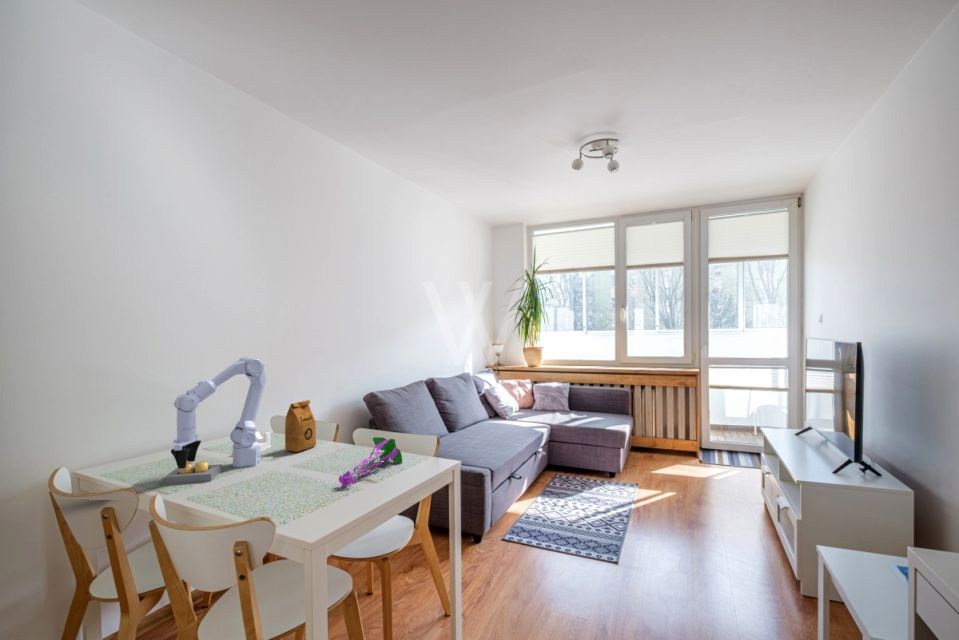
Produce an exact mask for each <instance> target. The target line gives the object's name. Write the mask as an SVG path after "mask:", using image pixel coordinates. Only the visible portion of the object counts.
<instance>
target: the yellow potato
mask: <svg viewBox="0 0 959 640" xmlns="http://www.w3.org/2000/svg"><path fill="white" fill-rule="evenodd" d="M208 465H209V462H208V461H199V462H196V463H195V464H194V466H195V473H200V472H206V471H208Z"/></svg>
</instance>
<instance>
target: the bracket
mask: <svg viewBox="0 0 959 640" xmlns="http://www.w3.org/2000/svg"><path fill="white" fill-rule="evenodd" d="M255 434H256V440H255V442H254V443H253V444H254V445H259V446H260V451H262V452H264V451H266V450H265V449H267V448H269V449H271V448H272V444H271V438H272V437H271V436H272V435H271V431H268V432H265V433H264V436H262V435H261V433H260V431H257V430H256V431H255ZM270 447H271V448H270ZM263 450H264V451H263ZM267 450H268V449H267Z"/></svg>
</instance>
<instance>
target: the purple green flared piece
mask: <svg viewBox="0 0 959 640" xmlns="http://www.w3.org/2000/svg"><path fill="white" fill-rule="evenodd" d="M372 441H373V442H374V445H375V446H374V448H373V449H372V451H371V453H370V455H369V457H366V459H363V460H361V461H360V462H361V463H360V465H356V466H354V468H352V471H349V470H348V471H346V472H345V473H343V474H342V475H340V476H339V477H338V482H339V483H340V484H341V485H342V486H343V487H344V488H346V487H348V486H349V485H350V484H353V483H354V482H355V481H356V479H355V478H356V477H359V476H361V474H367V473H369V471H368V470H371V469H372V468H373V466H374V467H378V466H380V465H382V464H383V462H381V461H386V462H388V461H389V460H390V461H392V462H393V461H396V462H395V463H397V462H400V463H399V464H401V463H402V464H403V454H402V451H401V450H400V449H399V448H398V447H397V445H396V440H395V439H394V438H390V439H387V438H385V437H372ZM372 455H374V457H372ZM375 461H376V462H375Z"/></svg>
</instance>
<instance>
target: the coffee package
mask: <svg viewBox="0 0 959 640" xmlns="http://www.w3.org/2000/svg"><path fill="white" fill-rule="evenodd" d="M309 404H311V401H310V399H307V400H302V401H298V402H294V403H290V405H289V407H288V409H287V413H286V416H285V423H284V424H285V425H284V442H285V443H284V444H285V445H284V447H285V448H284V450H285V452H294V453H297V452H302V451H305V450H309V449H311V448H315V446H316V444H317V436H316V435H317V434H316V432H317V430H316V429H317V428H316V427H317V425H316V419H315V416H314V414H313V412H312V410H311V407H310V405H309Z"/></svg>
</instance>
